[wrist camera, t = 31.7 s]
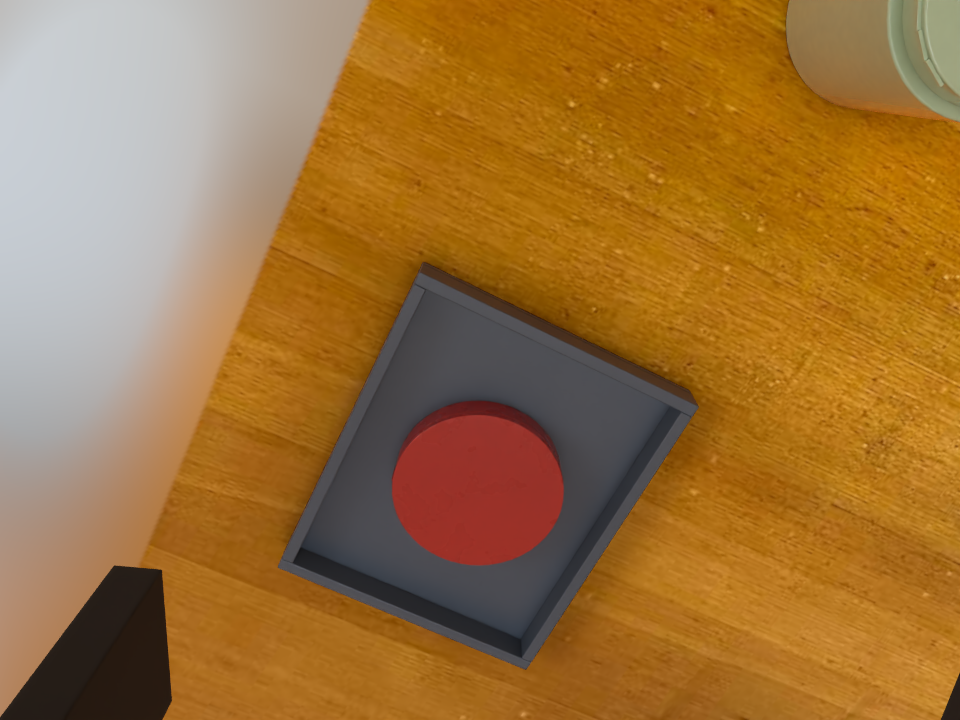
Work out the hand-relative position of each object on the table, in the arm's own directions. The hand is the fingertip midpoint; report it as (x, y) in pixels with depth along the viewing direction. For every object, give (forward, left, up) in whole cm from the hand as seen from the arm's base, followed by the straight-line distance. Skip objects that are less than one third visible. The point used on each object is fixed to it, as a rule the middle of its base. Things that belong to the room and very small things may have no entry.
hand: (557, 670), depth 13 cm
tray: (+8, +7, -25) cm, 27 cm away
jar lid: (+8, +7, -23) cm, 25 cm away
